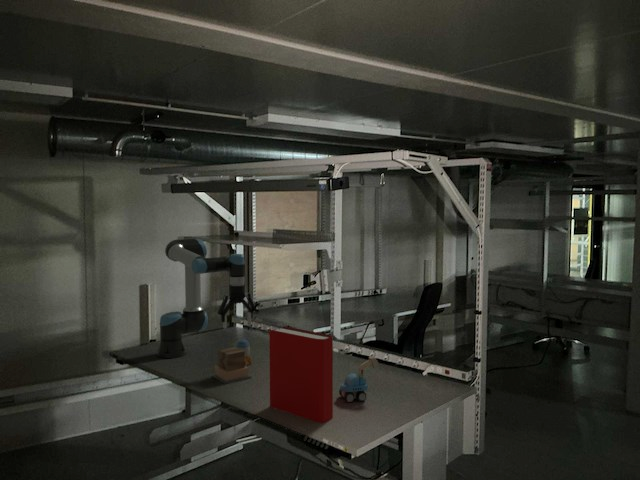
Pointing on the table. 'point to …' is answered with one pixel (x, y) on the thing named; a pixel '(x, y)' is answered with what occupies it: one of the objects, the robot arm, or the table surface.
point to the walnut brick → (231, 358)
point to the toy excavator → (357, 383)
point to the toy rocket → (245, 347)
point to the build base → (231, 374)
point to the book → (302, 373)
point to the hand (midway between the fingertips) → (237, 326)
